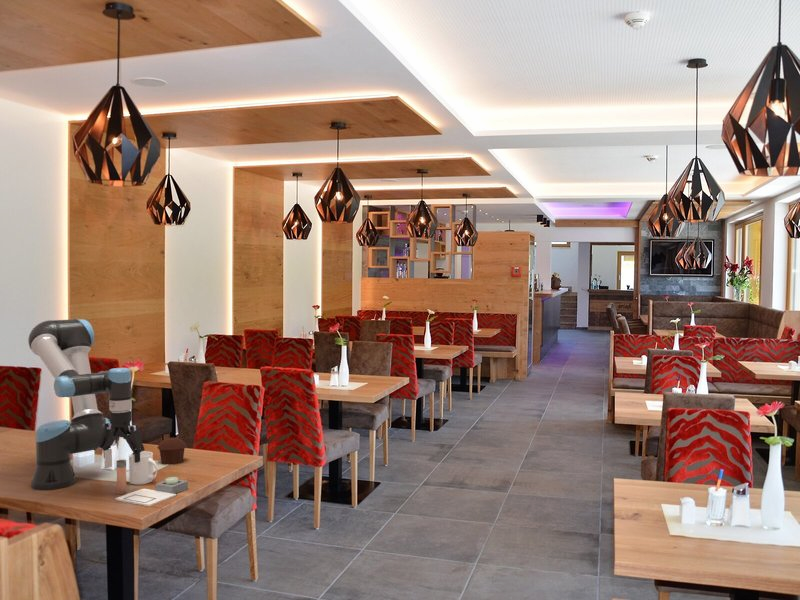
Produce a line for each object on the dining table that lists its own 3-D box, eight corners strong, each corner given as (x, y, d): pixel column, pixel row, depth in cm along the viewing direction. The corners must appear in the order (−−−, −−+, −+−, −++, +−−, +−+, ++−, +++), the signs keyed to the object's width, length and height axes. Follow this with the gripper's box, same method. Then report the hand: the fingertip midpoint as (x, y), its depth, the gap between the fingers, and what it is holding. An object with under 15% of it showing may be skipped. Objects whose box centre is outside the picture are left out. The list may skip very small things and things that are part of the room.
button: (162, 487, 259) (162, 479, 259) (171, 484, 263) (171, 476, 263) (172, 489, 257) (171, 480, 257) (180, 485, 261) (180, 477, 261)
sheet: (115, 500, 249) (115, 498, 249) (143, 489, 261) (143, 488, 261) (149, 506, 242) (149, 504, 242) (176, 495, 254) (176, 494, 254)
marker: (114, 494, 256) (114, 461, 256) (122, 491, 259) (121, 459, 259) (121, 495, 255) (121, 462, 254) (128, 492, 258) (128, 460, 257)
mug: (148, 487, 264) (148, 458, 264) (124, 483, 269) (124, 455, 269) (165, 481, 272) (164, 453, 272) (141, 477, 277) (140, 450, 277)
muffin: (186, 457, 307) (186, 434, 307) (187, 464, 297) (186, 440, 297) (157, 459, 304) (157, 436, 303) (157, 466, 293) (156, 442, 293)
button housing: (155, 492, 258) (155, 484, 258) (171, 486, 266) (171, 478, 266) (172, 495, 255) (172, 486, 255) (187, 489, 262) (187, 481, 262)
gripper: (87, 410, 258) (88, 468, 258) (138, 415, 247) (139, 475, 248) (104, 407, 265) (105, 463, 265) (154, 411, 254) (155, 470, 254)
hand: (121, 469), depth 256 cm, fingers open, 13 cm apart
